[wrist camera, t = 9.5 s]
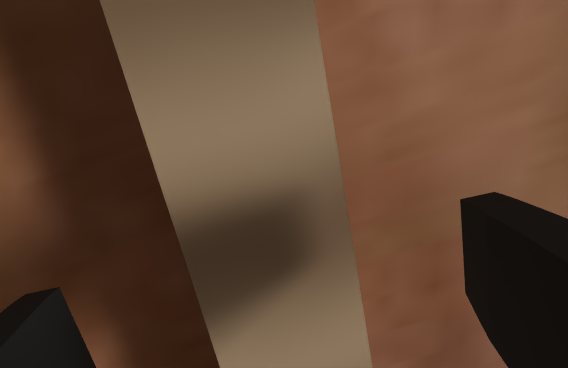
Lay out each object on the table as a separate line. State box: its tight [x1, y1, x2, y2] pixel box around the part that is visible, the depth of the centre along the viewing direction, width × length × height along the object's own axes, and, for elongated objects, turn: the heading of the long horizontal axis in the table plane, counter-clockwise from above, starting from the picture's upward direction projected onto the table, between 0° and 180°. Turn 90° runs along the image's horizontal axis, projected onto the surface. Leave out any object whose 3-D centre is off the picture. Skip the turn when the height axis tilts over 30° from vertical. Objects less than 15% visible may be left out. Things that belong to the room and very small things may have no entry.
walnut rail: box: [100, 0, 373, 368], centre depth 14 cm, size 22×4×4 cm, turn 11°
